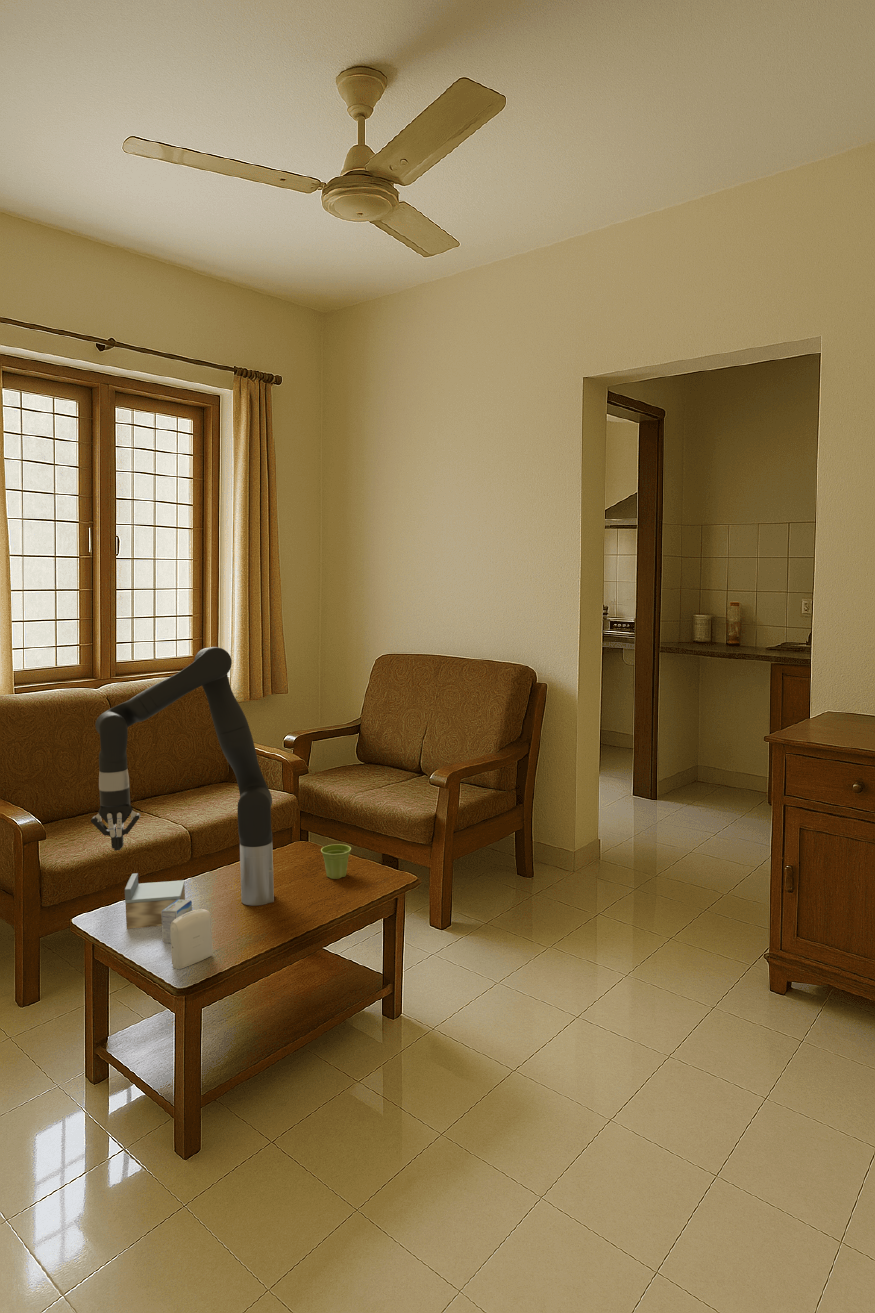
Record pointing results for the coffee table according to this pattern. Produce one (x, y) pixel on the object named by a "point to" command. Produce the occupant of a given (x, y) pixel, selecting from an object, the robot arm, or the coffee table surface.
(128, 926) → the wooden box
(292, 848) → the coffee table surface
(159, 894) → the lid
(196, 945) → the photo printer
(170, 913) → the medicine box
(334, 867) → the plant pot
